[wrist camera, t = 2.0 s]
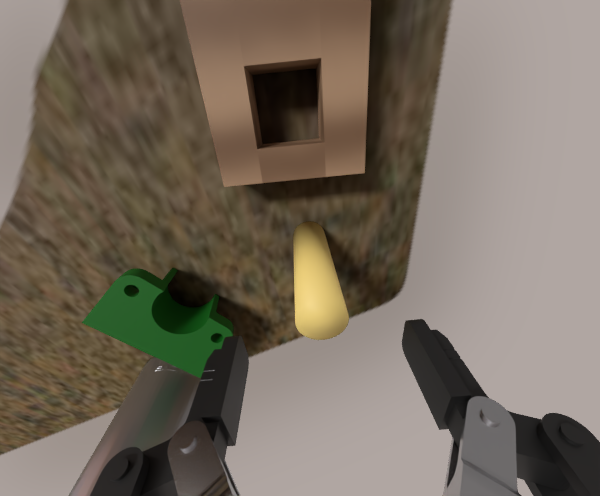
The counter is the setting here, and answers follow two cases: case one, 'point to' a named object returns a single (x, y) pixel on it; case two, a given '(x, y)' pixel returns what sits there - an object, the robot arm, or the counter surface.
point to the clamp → (160, 321)
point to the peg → (316, 285)
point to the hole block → (280, 58)
